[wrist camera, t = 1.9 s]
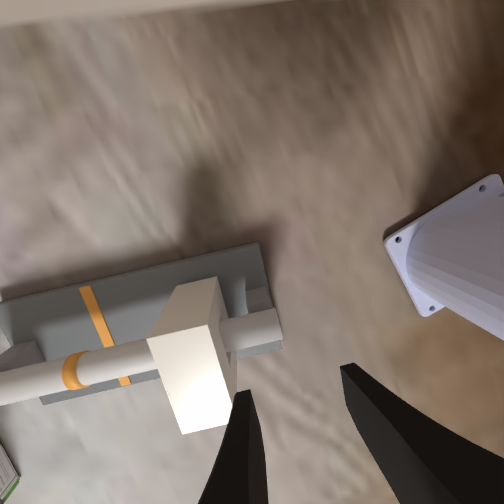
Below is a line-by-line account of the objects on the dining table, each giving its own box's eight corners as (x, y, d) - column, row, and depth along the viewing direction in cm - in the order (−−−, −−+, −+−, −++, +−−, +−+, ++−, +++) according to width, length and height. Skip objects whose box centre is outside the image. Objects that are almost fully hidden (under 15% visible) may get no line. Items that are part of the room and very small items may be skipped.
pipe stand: (257, 241, 20) (266, 263, 14) (280, 341, 22) (294, 392, 17) (1, 301, 20) (-86, 345, 14) (51, 395, 22) (-8, 464, 17)
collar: (216, 276, 19) (207, 324, 12) (236, 346, 20) (237, 421, 14) (176, 285, 19) (146, 338, 12) (199, 354, 20) (182, 434, 14)
